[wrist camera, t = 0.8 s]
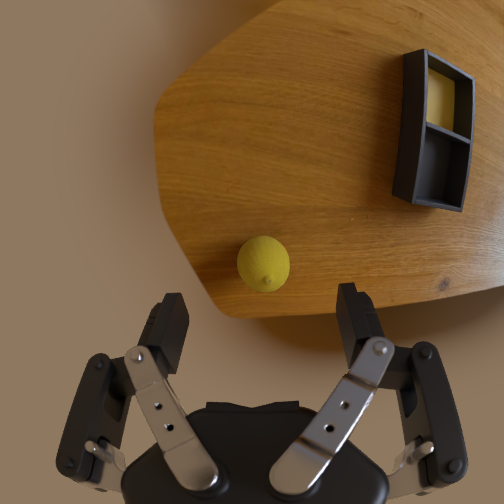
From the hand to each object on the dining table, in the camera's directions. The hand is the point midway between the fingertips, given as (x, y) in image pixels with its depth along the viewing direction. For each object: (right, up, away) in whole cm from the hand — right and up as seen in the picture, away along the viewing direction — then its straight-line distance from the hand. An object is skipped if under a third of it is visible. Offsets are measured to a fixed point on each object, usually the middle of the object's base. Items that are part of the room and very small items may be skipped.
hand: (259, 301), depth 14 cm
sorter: (+24, +19, +16) cm, 34 cm away
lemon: (0, +3, +20) cm, 20 cm away
